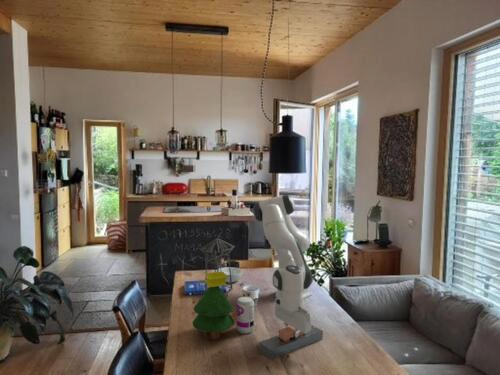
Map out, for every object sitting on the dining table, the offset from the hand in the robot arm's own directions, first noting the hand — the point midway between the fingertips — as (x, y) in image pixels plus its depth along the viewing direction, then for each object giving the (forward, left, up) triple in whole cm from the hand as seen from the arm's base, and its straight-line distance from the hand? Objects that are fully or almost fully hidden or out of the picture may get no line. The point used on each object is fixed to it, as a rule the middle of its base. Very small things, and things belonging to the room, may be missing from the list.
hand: (292, 334), depth 161 cm
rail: (0, 0, -5) cm, 5 cm away
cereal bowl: (-22, -86, -5) cm, 89 cm away
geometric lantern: (-1, -66, -5) cm, 66 cm away
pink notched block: (0, 0, -4) cm, 4 cm away
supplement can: (+9, -23, -5) cm, 25 cm away
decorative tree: (+24, -27, -5) cm, 36 cm away
